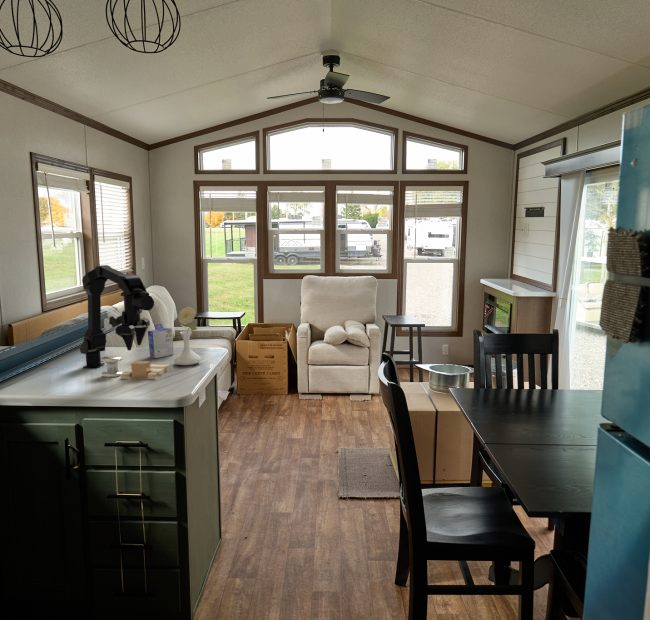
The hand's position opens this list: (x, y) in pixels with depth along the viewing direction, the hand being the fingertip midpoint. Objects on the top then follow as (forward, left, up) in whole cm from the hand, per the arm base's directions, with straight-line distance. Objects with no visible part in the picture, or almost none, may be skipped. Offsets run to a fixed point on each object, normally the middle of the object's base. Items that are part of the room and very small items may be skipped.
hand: (134, 347), depth 223 cm
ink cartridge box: (-36, -3, -12) cm, 38 cm away
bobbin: (-2, -10, -12) cm, 16 cm away
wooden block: (+1, +3, -12) cm, 12 cm away
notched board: (-4, +3, -12) cm, 12 cm away
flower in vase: (-20, +15, -12) cm, 27 cm away
